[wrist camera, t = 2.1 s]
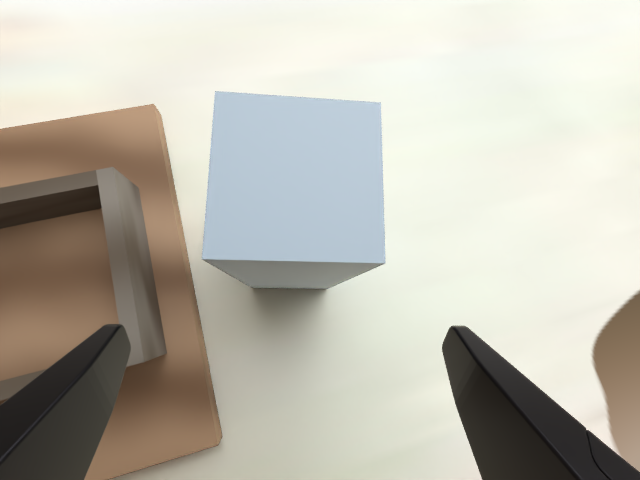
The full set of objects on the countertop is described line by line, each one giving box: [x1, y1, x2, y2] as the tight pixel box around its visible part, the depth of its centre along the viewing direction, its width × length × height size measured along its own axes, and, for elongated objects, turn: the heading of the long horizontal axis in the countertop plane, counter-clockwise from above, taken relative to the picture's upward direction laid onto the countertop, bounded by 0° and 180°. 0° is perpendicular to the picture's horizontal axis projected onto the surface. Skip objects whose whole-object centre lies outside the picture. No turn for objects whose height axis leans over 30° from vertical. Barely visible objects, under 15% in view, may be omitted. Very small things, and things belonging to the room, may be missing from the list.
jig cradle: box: [0, 104, 222, 480], centre depth 17 cm, size 20×13×4 cm, turn 14°
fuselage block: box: [202, 91, 385, 289], centre depth 15 cm, size 5×5×12 cm
